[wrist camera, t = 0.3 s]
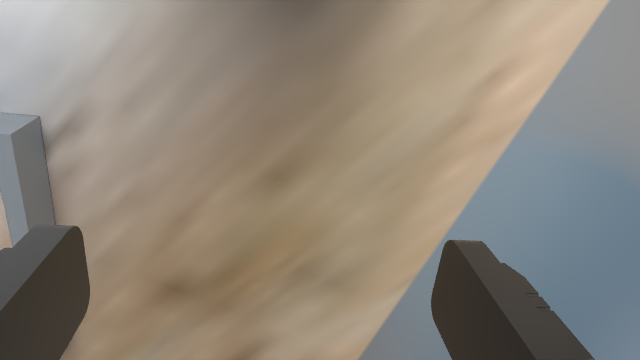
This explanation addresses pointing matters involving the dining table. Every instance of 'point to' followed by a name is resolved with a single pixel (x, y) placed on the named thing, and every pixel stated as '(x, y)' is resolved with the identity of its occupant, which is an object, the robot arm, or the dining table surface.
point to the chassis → (24, 175)
